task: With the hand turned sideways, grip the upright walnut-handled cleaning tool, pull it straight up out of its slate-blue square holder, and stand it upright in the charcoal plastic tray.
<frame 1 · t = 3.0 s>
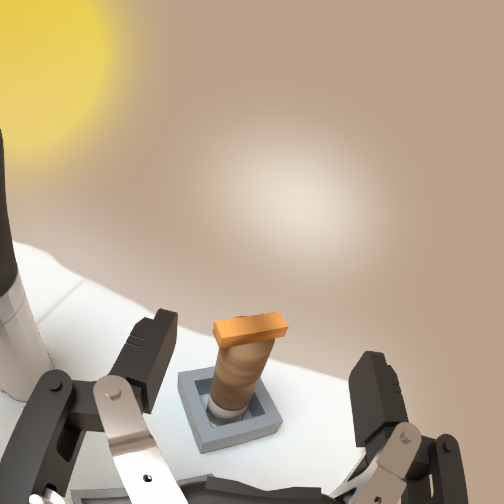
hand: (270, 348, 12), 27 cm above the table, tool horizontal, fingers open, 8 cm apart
tool holder: (224, 412, 35), on the table
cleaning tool: (235, 377, 30), in the tool holder
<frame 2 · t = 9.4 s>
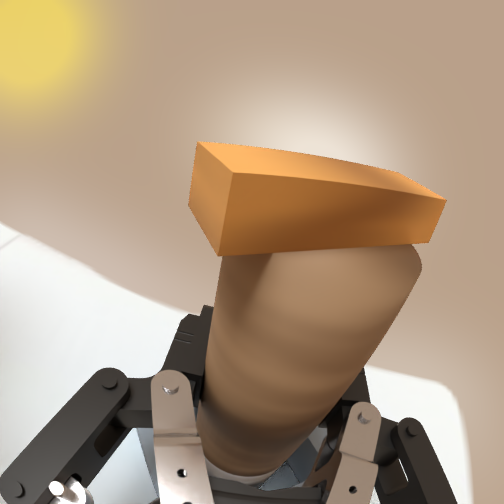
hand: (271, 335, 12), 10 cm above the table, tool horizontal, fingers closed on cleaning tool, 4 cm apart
tool holder: (231, 462, 15), on the table
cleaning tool: (263, 396, 11), in the tool holder, touching gripper
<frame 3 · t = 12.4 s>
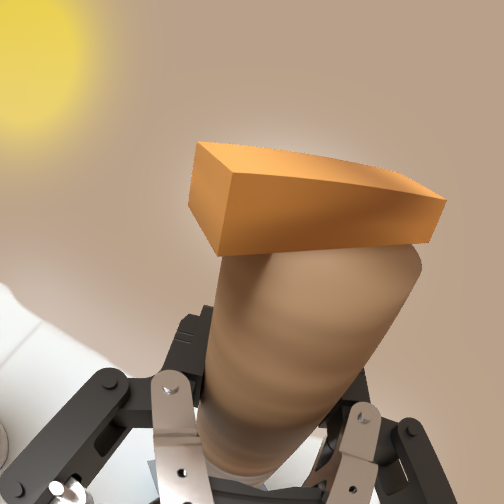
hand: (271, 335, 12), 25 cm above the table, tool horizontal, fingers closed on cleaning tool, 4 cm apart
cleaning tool: (263, 396, 11), point 24 cm above the table, touching gripper
when the fingers open (11 cm above the table, at t = 17.2 s): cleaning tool stays where it is, resting on tool tray.
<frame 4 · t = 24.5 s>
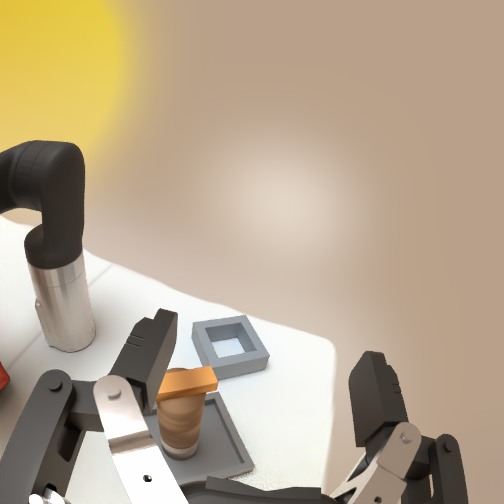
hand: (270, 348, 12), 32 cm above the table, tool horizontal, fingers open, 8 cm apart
tool tray: (179, 446, 34), on the table
tool holder: (226, 354, 50), on the table
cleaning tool: (179, 420, 29), in the tool tray, point 10 cm above the table
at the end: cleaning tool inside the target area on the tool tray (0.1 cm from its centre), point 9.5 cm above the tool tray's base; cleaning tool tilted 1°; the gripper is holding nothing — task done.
